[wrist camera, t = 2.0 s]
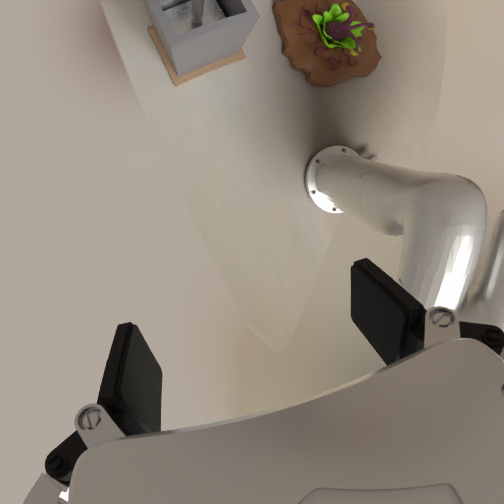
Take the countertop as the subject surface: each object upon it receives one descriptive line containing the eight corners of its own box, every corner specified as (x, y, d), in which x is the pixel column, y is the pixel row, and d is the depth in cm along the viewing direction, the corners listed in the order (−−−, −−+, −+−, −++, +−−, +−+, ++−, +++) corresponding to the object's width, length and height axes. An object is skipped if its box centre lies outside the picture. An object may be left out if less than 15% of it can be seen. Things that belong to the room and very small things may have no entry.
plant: (346, -9, 33) (375, -29, 23) (384, 72, 42) (422, 65, 32) (254, 3, 33) (271, -26, 23) (299, 94, 42) (328, 85, 32)
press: (216, 5, 32) (228, -48, 17) (244, 58, 37) (271, 21, 22) (148, 31, 32) (128, -15, 17) (175, 86, 37) (165, 58, 22)
